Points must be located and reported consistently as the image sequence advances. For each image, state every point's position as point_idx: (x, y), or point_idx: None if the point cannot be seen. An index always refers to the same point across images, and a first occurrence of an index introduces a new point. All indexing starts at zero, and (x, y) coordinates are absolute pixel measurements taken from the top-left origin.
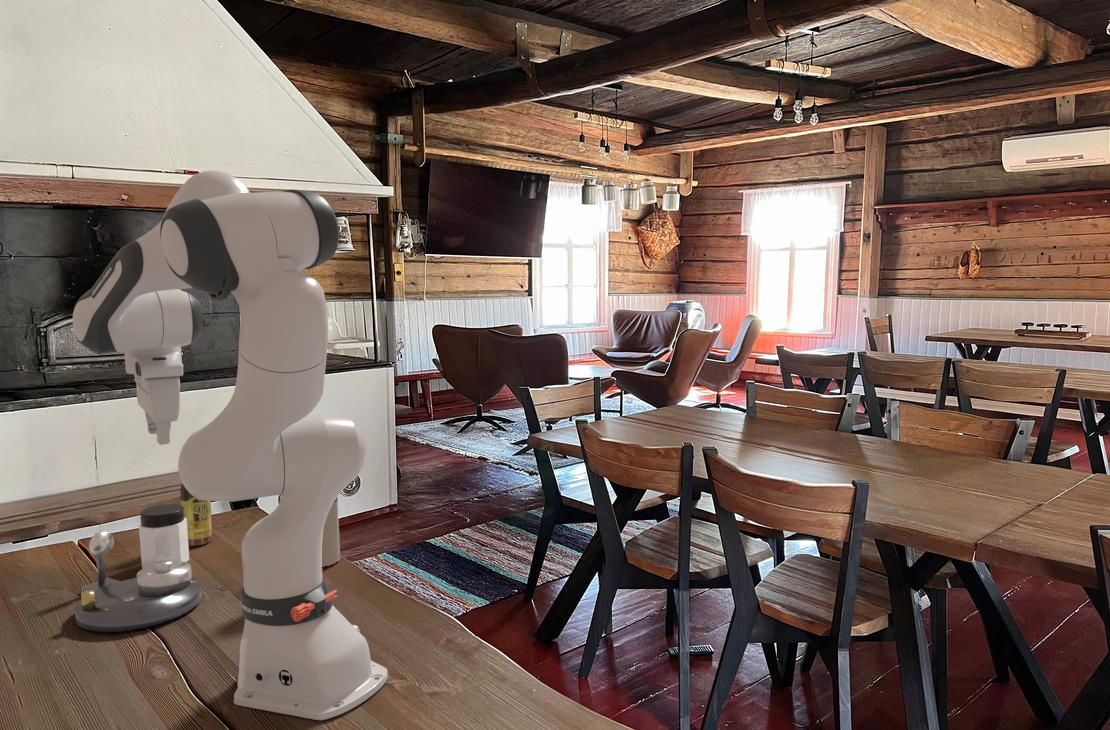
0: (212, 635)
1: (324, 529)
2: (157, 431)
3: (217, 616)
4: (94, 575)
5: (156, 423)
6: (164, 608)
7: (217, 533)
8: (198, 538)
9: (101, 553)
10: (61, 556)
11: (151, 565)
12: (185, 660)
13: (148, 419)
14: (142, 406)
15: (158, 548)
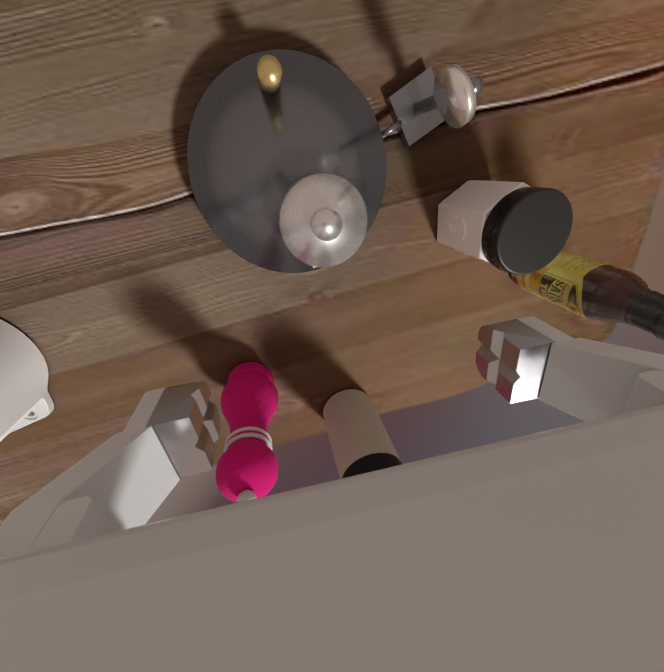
0: (141, 278)
1: (333, 452)
2: (96, 455)
3: (211, 286)
4: (497, 94)
5: (47, 522)
6: (213, 216)
7: None
8: None
9: (437, 99)
10: (642, 25)
11: (363, 201)
12: (55, 240)
13: (589, 362)
14: (660, 439)
15: (460, 213)
